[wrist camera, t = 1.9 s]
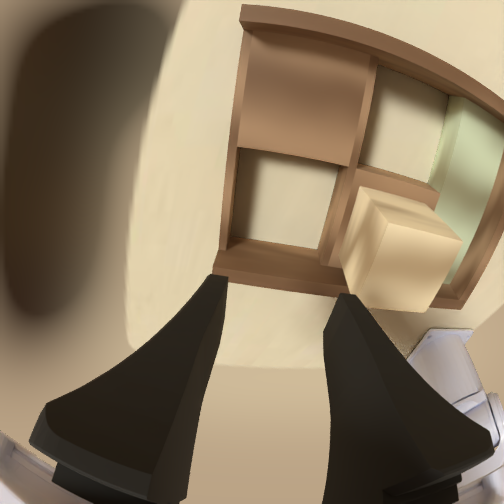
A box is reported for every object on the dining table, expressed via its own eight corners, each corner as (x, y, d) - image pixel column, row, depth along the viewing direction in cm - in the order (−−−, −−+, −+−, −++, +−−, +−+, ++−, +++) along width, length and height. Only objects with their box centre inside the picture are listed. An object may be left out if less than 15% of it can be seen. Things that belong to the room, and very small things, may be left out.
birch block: (399, 265, 18) (424, 312, 14) (338, 255, 18) (353, 306, 14) (425, 203, 15) (463, 241, 11) (359, 185, 15) (388, 222, 11)
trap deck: (442, 280, 21) (460, 309, 17) (222, 246, 21) (211, 279, 17) (501, 115, 12) (534, 126, 9) (249, 23, 12) (241, 4, 9)
